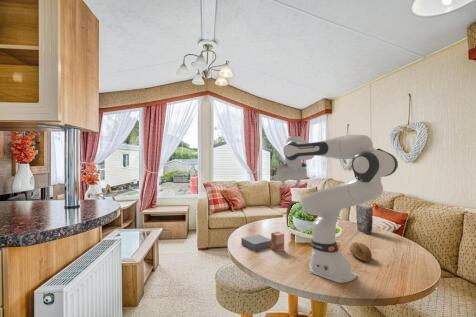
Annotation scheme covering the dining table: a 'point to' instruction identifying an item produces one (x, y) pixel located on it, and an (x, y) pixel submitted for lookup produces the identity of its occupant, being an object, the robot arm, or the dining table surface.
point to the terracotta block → (277, 241)
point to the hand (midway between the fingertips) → (290, 187)
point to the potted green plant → (290, 209)
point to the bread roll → (361, 251)
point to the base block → (256, 242)
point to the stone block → (364, 218)
